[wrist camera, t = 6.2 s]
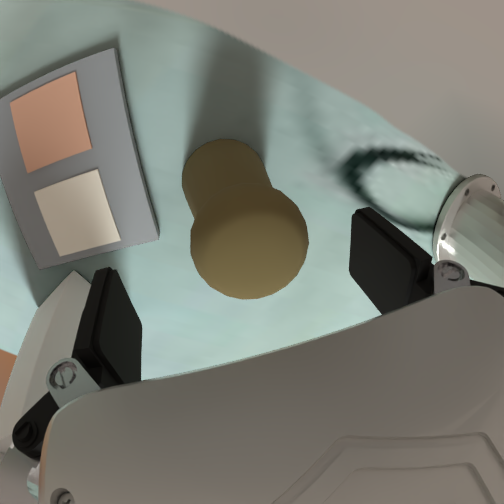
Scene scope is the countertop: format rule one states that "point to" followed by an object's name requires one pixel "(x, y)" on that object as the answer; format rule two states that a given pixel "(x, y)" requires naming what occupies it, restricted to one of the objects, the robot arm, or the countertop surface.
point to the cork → (241, 222)
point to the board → (74, 163)
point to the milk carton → (42, 352)
